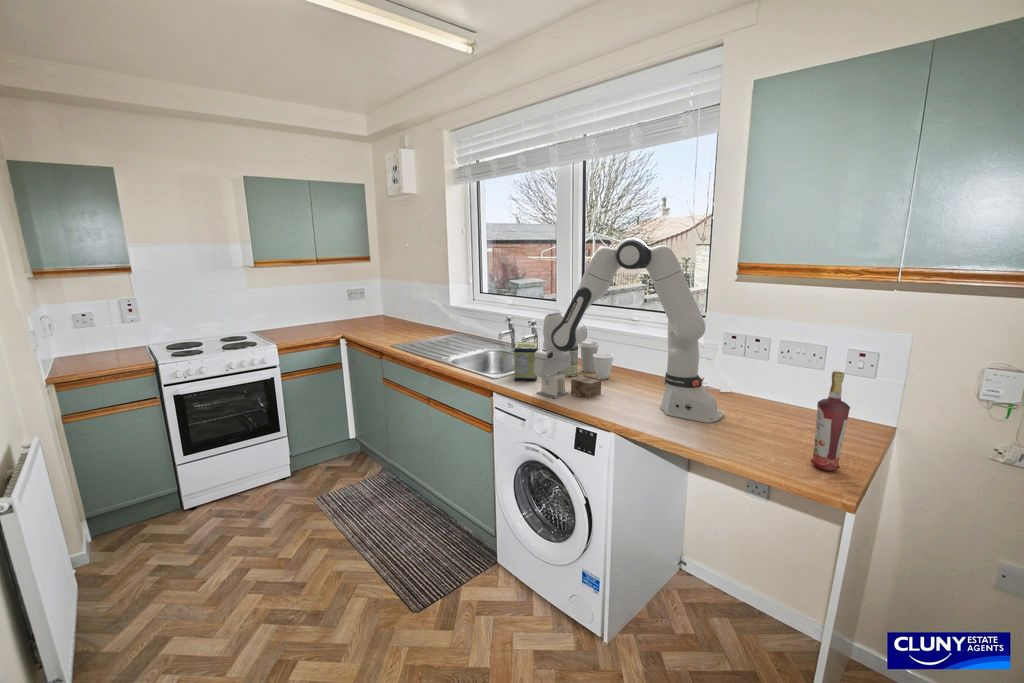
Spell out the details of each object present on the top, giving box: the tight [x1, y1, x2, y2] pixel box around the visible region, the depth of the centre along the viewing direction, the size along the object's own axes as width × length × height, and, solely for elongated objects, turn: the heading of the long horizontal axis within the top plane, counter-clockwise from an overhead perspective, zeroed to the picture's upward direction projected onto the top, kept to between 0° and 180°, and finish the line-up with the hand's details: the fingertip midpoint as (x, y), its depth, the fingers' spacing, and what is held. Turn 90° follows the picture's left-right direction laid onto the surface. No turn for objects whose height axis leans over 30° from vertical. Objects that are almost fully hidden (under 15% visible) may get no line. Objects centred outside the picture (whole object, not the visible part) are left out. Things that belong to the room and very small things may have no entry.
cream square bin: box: [541, 372, 566, 396], centre depth 195 cm, size 6×8×8 cm
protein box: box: [513, 341, 539, 382], centre depth 220 cm, size 10×16×16 cm
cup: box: [593, 352, 615, 380], centre depth 218 cm, size 10×10×11 cm
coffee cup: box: [579, 339, 600, 373], centre depth 229 cm, size 10×10×15 cm
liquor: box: [810, 370, 851, 473], centre depth 127 cm, size 7×7×28 cm
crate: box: [570, 374, 603, 399], centre depth 195 cm, size 9×9×6 cm
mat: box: [536, 391, 570, 399], centre depth 196 cm, size 10×10×1 cm
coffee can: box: [556, 345, 579, 378], centre depth 224 cm, size 10×10×14 cm
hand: (553, 382), depth 195 cm, fingers open, 8 cm apart
